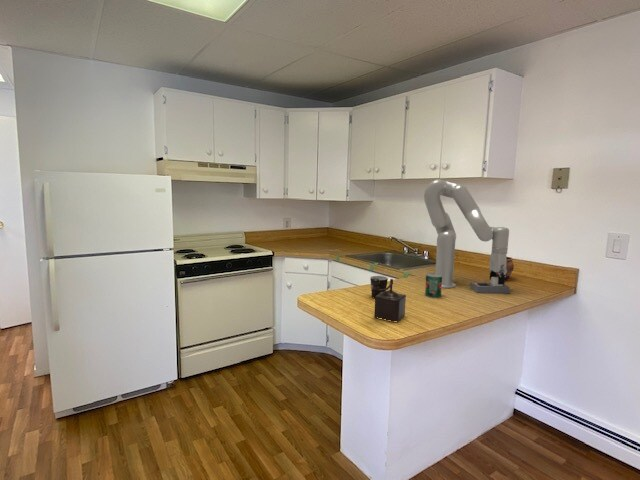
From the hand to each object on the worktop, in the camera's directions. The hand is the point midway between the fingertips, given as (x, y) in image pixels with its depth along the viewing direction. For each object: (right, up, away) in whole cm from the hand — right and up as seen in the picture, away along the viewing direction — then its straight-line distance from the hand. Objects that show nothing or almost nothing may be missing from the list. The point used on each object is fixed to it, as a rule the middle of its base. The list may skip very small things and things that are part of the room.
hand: (496, 281), depth 194 cm
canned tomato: (-37, -6, -9) cm, 39 cm away
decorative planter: (+16, -2, +26) cm, 30 cm away
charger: (0, -5, +1) cm, 5 cm away
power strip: (-4, -4, +4) cm, 7 cm away
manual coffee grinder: (-67, -11, -42) cm, 80 cm away
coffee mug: (-65, -6, -12) cm, 67 cm away
